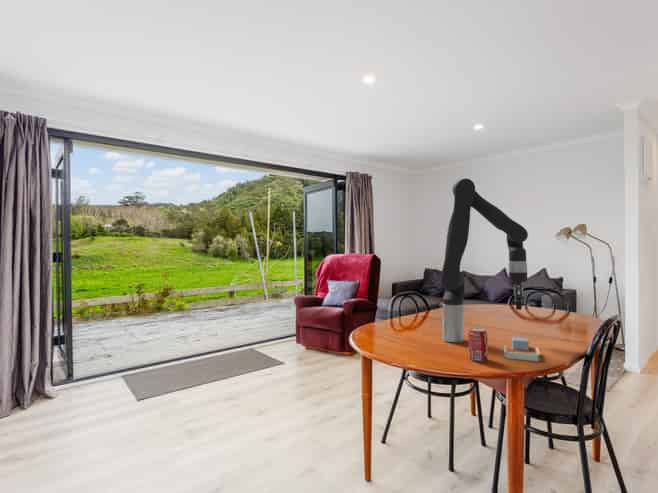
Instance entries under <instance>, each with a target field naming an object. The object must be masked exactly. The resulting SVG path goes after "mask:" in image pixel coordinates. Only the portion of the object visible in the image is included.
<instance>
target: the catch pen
mask: <svg viewBox="0 0 658 493" xmlns="http://www.w3.org/2000/svg"><path fill="white" fill-rule="evenodd" d="M503 356H504V357H503V358H504V359H511V360H521V361H531V362H541V353H540V350H539V347H535V353H528V352H516V351H515V352H514V351H507V344H504V345H503Z"/></svg>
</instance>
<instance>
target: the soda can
mask: <svg viewBox="0 0 658 493" xmlns="http://www.w3.org/2000/svg"><path fill="white" fill-rule="evenodd" d="M467 336H468V337H467V340H468V344H467V345H468V346H467V347H468V357H469V359H470V360H472V361H474V362H479V363H481V362H485V361H487V360H488V358H489V356H488V354H489V353H488V352H489V346H488V345H489V343H488V340H489V339H488V333H487V332H486V329H485V328H482V327H471V328H469V332H468V335H467Z"/></svg>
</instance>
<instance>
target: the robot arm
mask: <svg viewBox="0 0 658 493" xmlns="http://www.w3.org/2000/svg"><path fill="white" fill-rule="evenodd" d="M452 194H453V197H454V198H453V199H454V200H453V202H454V204H453V210H452V213H451V216H450V220H449V222H448V223H449V224H448V228H447V235H446V242H445V243H446V244H445V252H444V253H445V254H444V261H443V266H442V270H441V273H440V279H439V280H440V284H441V286H442V288H444V293H443V297H442V319H441V322H442V323H441V324H442V326H441V328H442V330H441V331H442V341H443V342H446V343H447V342H448V343H463V342H465V333H464V332H465V329H464V327H465V326H464V325H465V324H464V300H465V299H464V298H465V277H464V275H463V273H462V271H460V269H461V262H462V259H463V256H464V253H465V251H466V248H467V244H468V240H469V235H470V234H469V232H470V224H471V223H470V222H471V210H472V208H473V209H474V210H475V211H476V212H478V214H480V215H481V216H482V217H483V218H484V219H485V220H487V221H488V222H489V223H490V224H491V225H492V226H493V227H494V228H496V229H497V230H499V231H502V232H503V233H505V234H506V244H507V249H508V281H509V282H511V283H515V284H514V285H513V286H512V287H513V295H514V298H515V308H516V310H517V311H519V310H520V311H521V310H522V308H523V307H522V305H523V304H522V301H523V296H524V285H522V283H527V282H528V264H527V250H526V249H525V248H524V243H523V242H525V241H526V240H528V237H529V233H528V231H527V230H526V228H525V227H524V226H523V225H522V224H520V223H518V222H517V221H515V220H513V219H512V218H511V217H509V215H508V214H506V213H505V212H503V211H502V210H501V209H500V208H498V206H496V205H494V204H492V203H491V202H489V201H488V200H486V199H485V198H483V197H482V196H481V195H480V194H479V193H478V192H477V191H476V185H475V183H474V181H473V180H471V179H470V178H461V179H459V180H458V181H456V182H455V183H454V184H453V186H452Z"/></svg>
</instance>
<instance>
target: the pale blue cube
mask: <svg viewBox="0 0 658 493" xmlns="http://www.w3.org/2000/svg"><path fill="white" fill-rule="evenodd" d="M529 344H530V343H529V339H528V338H527V337H517V336H516V337H515V336H511V348H512V350H516V349H518V351H519V350H520V351H530V348H529V346H530V345H529Z"/></svg>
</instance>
